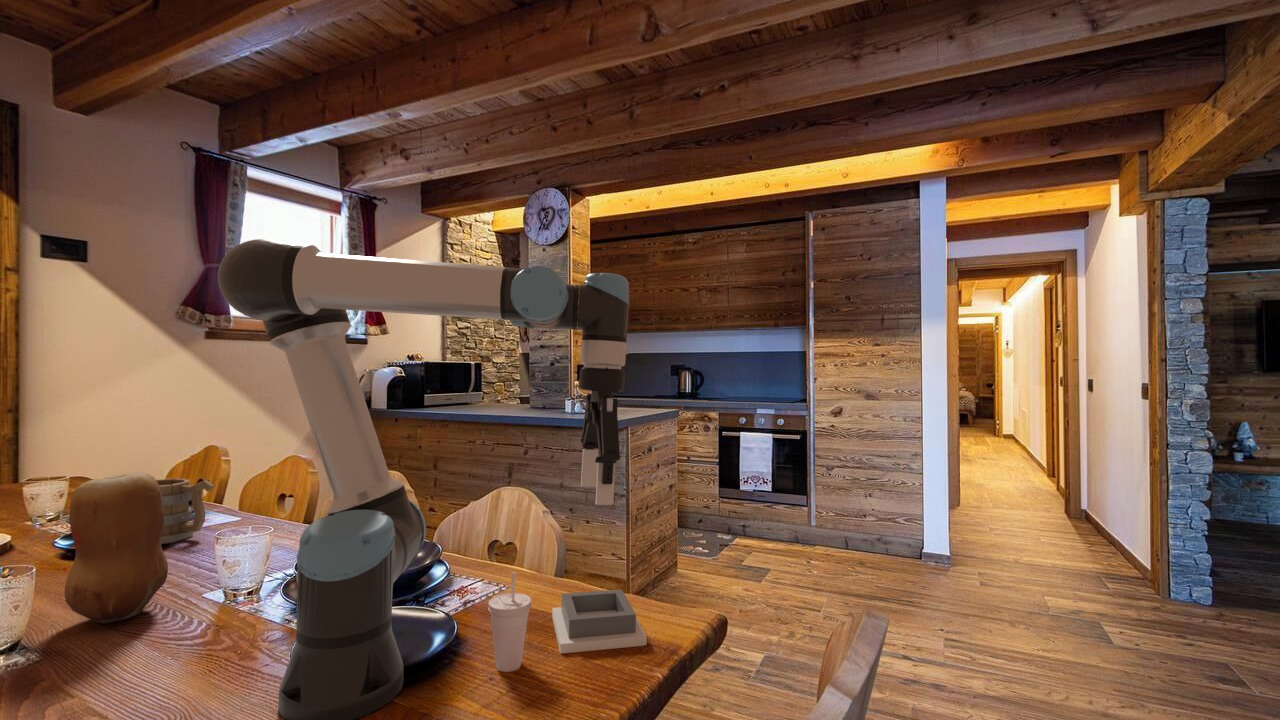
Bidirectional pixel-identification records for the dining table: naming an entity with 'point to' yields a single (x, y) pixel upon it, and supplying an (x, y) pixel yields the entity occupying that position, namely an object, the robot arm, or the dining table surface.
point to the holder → (596, 622)
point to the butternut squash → (116, 547)
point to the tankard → (181, 508)
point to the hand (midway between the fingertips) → (595, 494)
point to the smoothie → (509, 627)
